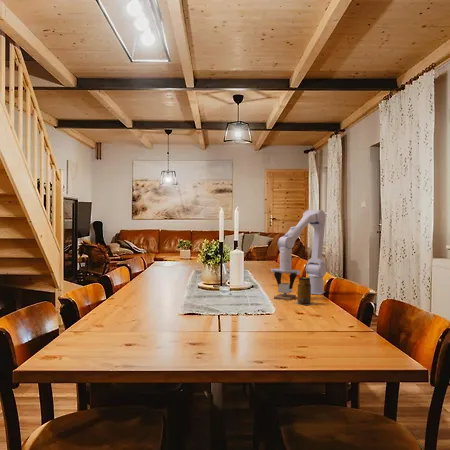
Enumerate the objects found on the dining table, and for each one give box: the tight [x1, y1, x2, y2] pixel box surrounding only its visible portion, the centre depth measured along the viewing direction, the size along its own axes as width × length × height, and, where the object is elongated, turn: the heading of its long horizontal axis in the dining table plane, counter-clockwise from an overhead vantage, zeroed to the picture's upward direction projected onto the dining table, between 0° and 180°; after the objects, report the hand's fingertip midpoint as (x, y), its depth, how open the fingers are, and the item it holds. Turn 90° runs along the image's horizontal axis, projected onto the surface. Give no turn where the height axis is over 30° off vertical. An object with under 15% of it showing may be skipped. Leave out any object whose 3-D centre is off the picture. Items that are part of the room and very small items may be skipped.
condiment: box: [293, 276, 317, 306], centre depth 210 cm, size 7×8×12 cm
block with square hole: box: [277, 282, 293, 294], centre depth 224 cm, size 5×5×4 cm
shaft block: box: [273, 293, 297, 301], centre depth 224 cm, size 10×8×4 cm
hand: (285, 288), depth 224 cm, fingers closed on block with square hole, 5 cm apart
